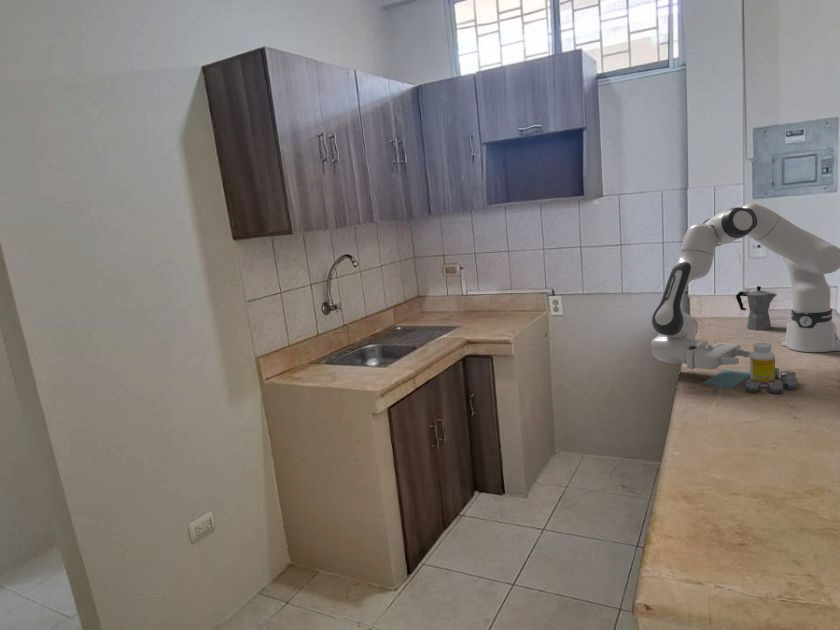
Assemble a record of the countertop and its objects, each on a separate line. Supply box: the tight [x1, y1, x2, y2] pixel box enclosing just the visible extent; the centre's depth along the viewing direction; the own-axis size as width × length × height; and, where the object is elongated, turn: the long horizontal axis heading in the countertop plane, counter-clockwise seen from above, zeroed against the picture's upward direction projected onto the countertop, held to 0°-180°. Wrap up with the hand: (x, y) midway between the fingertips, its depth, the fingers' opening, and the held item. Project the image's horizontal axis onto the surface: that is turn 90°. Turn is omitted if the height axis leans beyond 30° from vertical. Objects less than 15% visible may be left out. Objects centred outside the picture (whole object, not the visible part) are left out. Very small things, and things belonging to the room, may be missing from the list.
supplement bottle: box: [749, 342, 776, 388], centre depth 174 cm, size 7×7×13 cm
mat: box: [703, 368, 750, 389], centre depth 183 cm, size 16×9×1 cm, turn 130°
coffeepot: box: [735, 285, 778, 331], centre depth 240 cm, size 15×9×18 cm, turn 44°
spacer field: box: [744, 367, 799, 395], centre depth 172 cm, size 19×12×3 cm, turn 130°
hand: (743, 357), depth 178 cm, fingers open, 8 cm apart
